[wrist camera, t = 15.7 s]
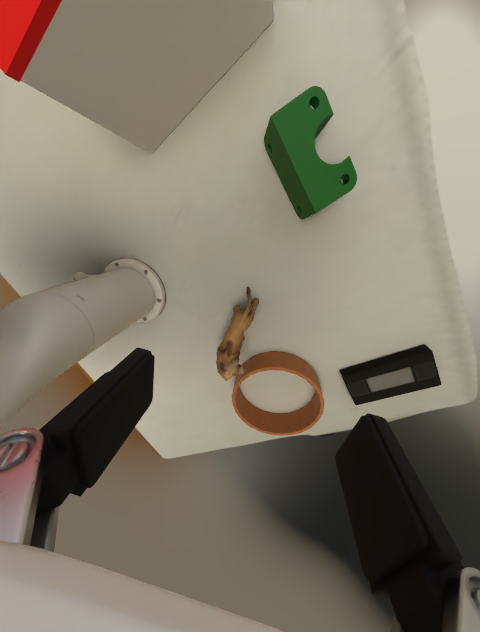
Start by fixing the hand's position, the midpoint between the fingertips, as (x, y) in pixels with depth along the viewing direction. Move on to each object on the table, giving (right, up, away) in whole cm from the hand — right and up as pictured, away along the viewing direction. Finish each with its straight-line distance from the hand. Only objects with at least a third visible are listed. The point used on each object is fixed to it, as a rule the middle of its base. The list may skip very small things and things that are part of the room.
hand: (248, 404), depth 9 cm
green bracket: (+9, +24, +19) cm, 32 cm away
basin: (+7, -11, +35) cm, 37 cm away
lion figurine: (0, +2, +31) cm, 31 cm away
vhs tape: (+27, -7, +30) cm, 41 cm away
